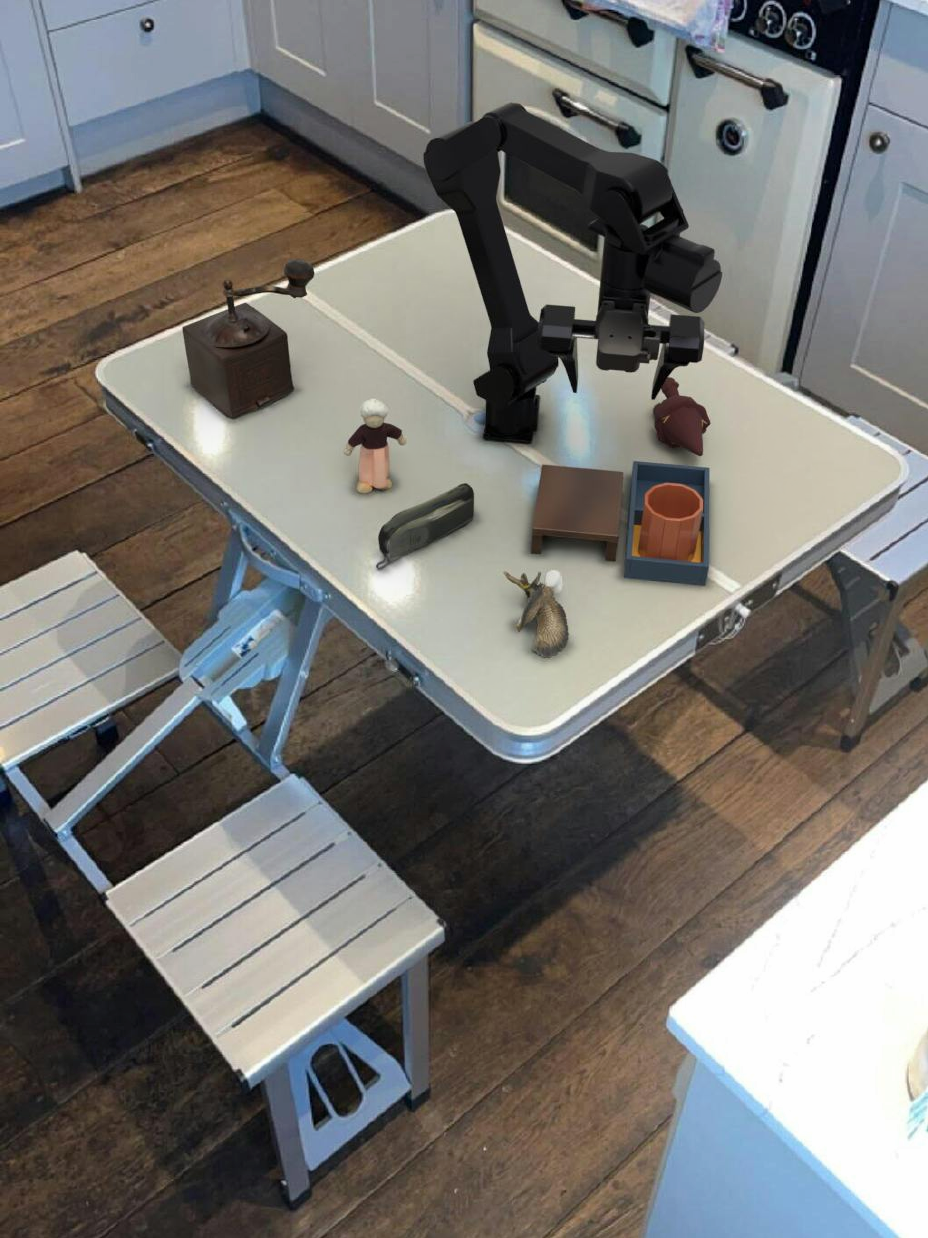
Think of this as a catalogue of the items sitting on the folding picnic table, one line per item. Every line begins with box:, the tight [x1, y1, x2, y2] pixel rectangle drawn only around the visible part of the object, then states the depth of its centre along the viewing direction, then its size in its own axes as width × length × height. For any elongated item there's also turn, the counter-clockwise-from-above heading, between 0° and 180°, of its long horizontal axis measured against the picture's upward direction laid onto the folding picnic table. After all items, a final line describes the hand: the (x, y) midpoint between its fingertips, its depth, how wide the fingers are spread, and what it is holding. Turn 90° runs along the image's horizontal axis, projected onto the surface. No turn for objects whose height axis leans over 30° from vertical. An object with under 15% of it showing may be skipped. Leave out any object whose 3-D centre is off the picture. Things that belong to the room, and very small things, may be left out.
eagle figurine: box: [503, 569, 570, 658], centre depth 142 cm, size 8×7×9 cm
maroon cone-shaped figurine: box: [652, 376, 711, 457], centre depth 165 cm, size 7×7×15 cm
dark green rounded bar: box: [375, 482, 475, 570], centre depth 152 cm, size 5×3×15 cm
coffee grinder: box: [181, 258, 315, 420], centre depth 170 cm, size 16×11×18 cm
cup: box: [638, 483, 703, 562], centre depth 149 cm, size 7×7×8 cm
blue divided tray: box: [623, 460, 711, 586], centre depth 155 cm, size 9×18×3 cm, turn 172°
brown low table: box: [530, 464, 625, 562], centre depth 155 cm, size 10×12×4 cm
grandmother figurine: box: [343, 398, 407, 494], centre depth 157 cm, size 8×4×13 cm, turn 117°
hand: (613, 394), depth 153 cm, fingers open, 9 cm apart
